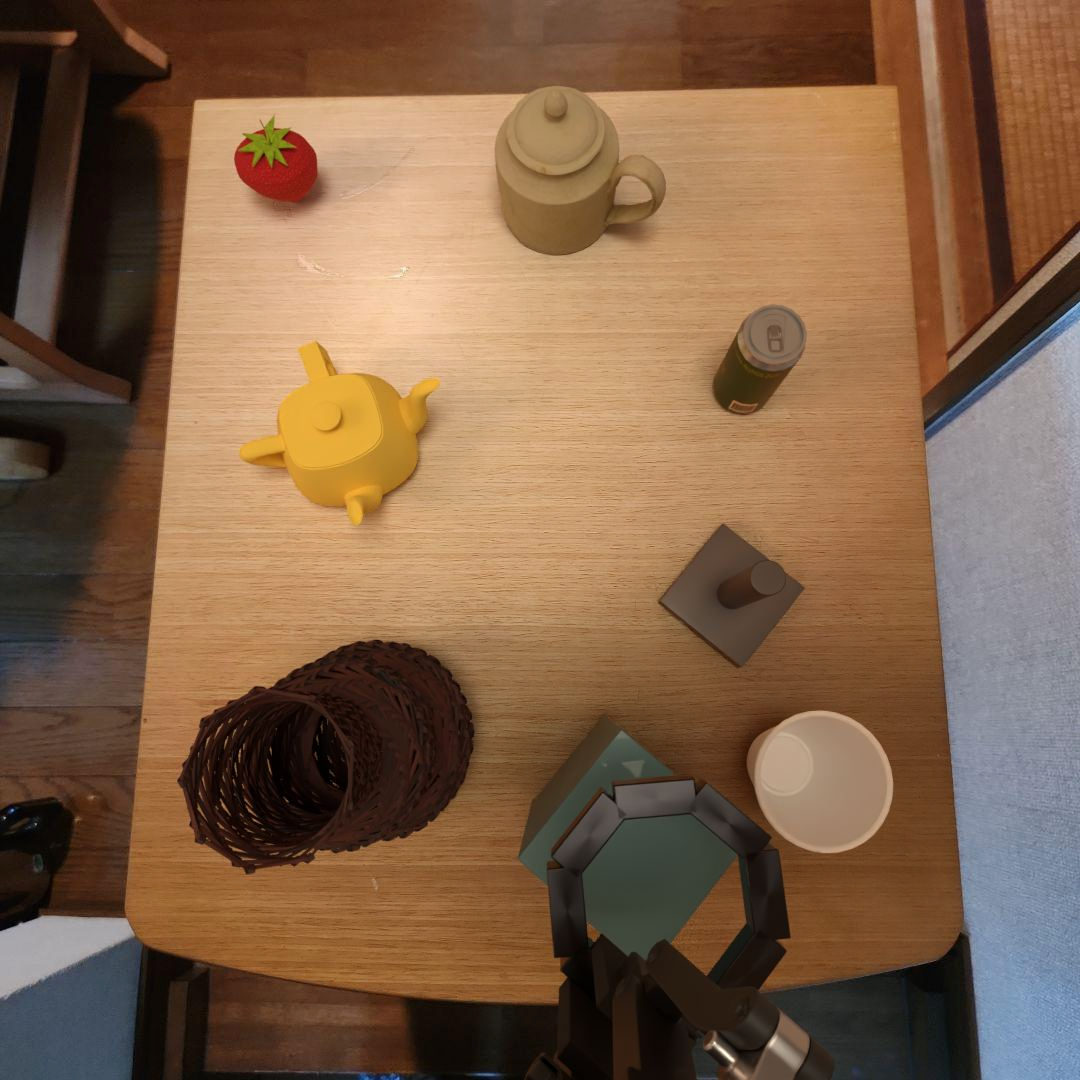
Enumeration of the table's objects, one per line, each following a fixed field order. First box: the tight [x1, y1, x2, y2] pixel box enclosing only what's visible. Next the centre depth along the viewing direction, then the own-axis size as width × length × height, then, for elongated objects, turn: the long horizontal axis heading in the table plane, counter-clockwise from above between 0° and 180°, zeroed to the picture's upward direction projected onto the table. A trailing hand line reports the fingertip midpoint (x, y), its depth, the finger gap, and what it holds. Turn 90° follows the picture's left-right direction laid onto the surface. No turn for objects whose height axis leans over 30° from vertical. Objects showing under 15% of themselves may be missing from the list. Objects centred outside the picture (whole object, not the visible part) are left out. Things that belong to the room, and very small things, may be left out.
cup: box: [746, 710, 894, 854], centre depth 61 cm, size 10×10×11 cm
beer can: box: [712, 303, 808, 415], centre depth 66 cm, size 5×5×12 cm
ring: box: [547, 773, 792, 1032], centre depth 36 cm, size 11×11×2 cm
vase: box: [176, 639, 475, 875], centre depth 53 cm, size 15×15×30 cm
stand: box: [517, 713, 738, 960], centre depth 57 cm, size 10×10×20 cm
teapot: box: [238, 340, 441, 526], centre depth 68 cm, size 14×13×10 cm
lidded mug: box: [494, 85, 667, 256], centre depth 69 cm, size 15×11×15 cm
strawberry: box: [233, 114, 319, 203], centre depth 72 cm, size 6×8×10 cm
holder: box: [657, 523, 806, 669], centre depth 62 cm, size 9×9×14 cm
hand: (603, 981), depth 35 cm, fingers closed on ring, 2 cm apart
